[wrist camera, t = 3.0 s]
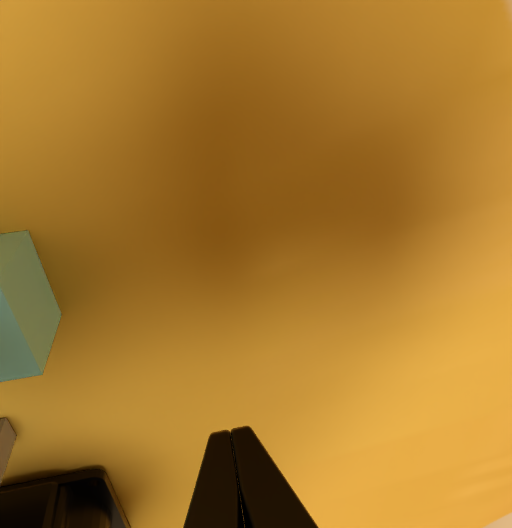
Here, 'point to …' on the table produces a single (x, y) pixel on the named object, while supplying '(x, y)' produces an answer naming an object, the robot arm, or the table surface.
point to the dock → (5, 444)
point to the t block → (24, 309)
